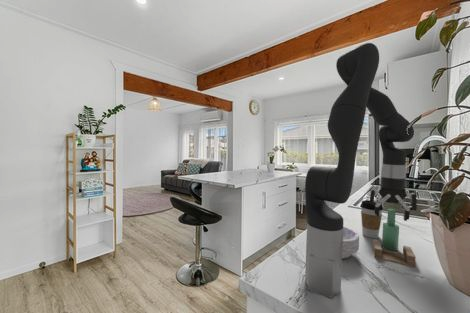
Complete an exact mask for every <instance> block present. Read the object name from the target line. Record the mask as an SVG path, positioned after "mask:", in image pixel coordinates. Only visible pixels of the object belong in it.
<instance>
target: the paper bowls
mask: <svg viewBox="0 0 470 313" xmlns="http://www.w3.org/2000/svg"><path fill="white" fill-rule="evenodd" d="M359 248H360V236H359V234H358V232H356V231H355V230H354V229H351V228H349V227H345V226H343V244H342V260H343V259H348V258H349V257H351V256H352V254H356V253H357V252H359Z"/></svg>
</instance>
